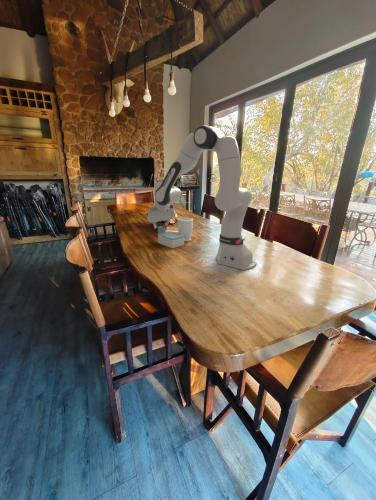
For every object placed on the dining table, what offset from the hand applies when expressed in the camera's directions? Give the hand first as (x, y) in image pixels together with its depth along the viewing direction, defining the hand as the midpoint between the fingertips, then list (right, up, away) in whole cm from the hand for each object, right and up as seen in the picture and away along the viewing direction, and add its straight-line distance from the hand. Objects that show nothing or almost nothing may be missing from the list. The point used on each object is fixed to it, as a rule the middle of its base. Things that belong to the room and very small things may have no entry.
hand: (161, 227), depth 157 cm
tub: (+7, -12, -3) cm, 14 cm away
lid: (+5, -6, -3) cm, 9 cm away
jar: (+16, -8, +8) cm, 19 cm away
